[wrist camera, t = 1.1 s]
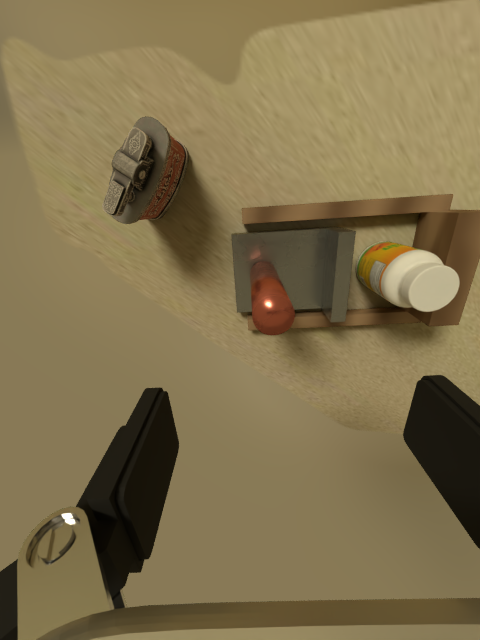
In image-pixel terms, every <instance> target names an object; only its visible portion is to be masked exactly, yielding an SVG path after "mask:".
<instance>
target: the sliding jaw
mask: <svg viewBox="0 0 480 640" xmlns="http://www.w3.org/2000/svg"><path fill="white" fill-rule="evenodd" d="M355 234H356V231H352V230H348V229H344V228H339V227H328V228H312V229H297V230H281V231H265V232H250V233H234V234H232V248H233V262H234V275H235V289H236V303H237V312H252V319H253V323H254V325H255V327H256V328H257V329H258V330H259V331H260V332H262V333H264V334H267V335H278V334H282V333H284V332H285V331H287V330H288V329H289V328H290V327H291V326H292V324H293V322H294V319H295V311H294V310H296V309H316V308H321V310H322V311H323V312H324V314H325V315H326V316H327V318H328V319H329V321H330V322H345V319H346V311H347V302H348V294H349V285H350V277H351V268H352V260H353V251H354V243H355Z"/></svg>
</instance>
